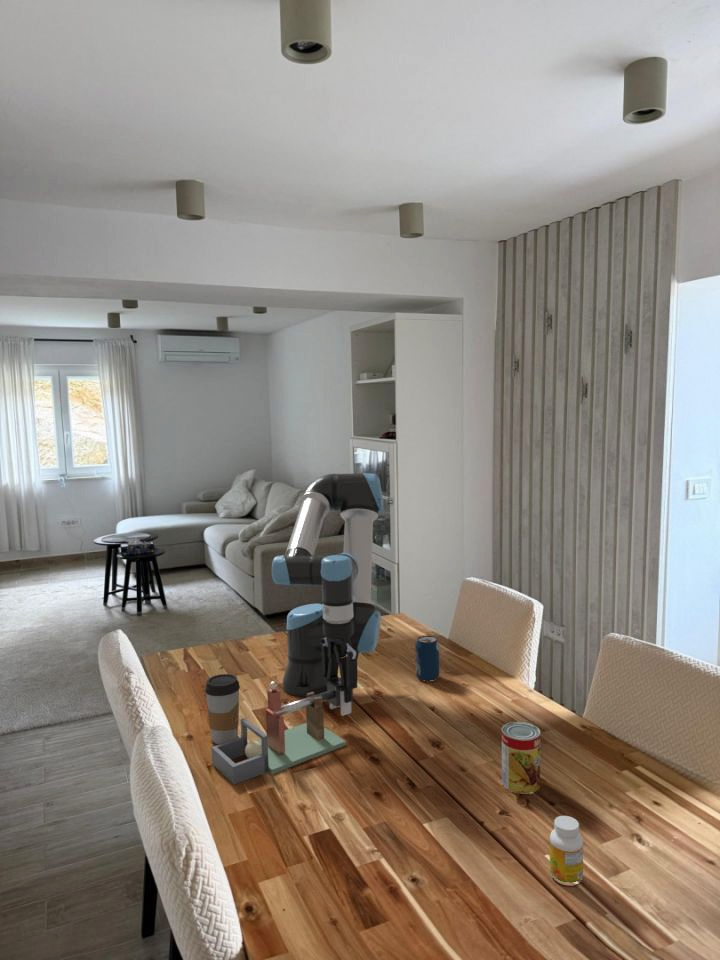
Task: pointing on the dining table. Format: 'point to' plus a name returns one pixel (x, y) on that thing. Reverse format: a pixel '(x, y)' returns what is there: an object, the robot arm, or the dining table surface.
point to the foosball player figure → (315, 718)
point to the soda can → (427, 658)
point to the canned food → (521, 757)
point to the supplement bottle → (566, 850)
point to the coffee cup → (223, 707)
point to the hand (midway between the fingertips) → (340, 710)
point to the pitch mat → (301, 748)
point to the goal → (236, 749)
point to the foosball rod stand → (276, 711)
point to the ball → (253, 749)
